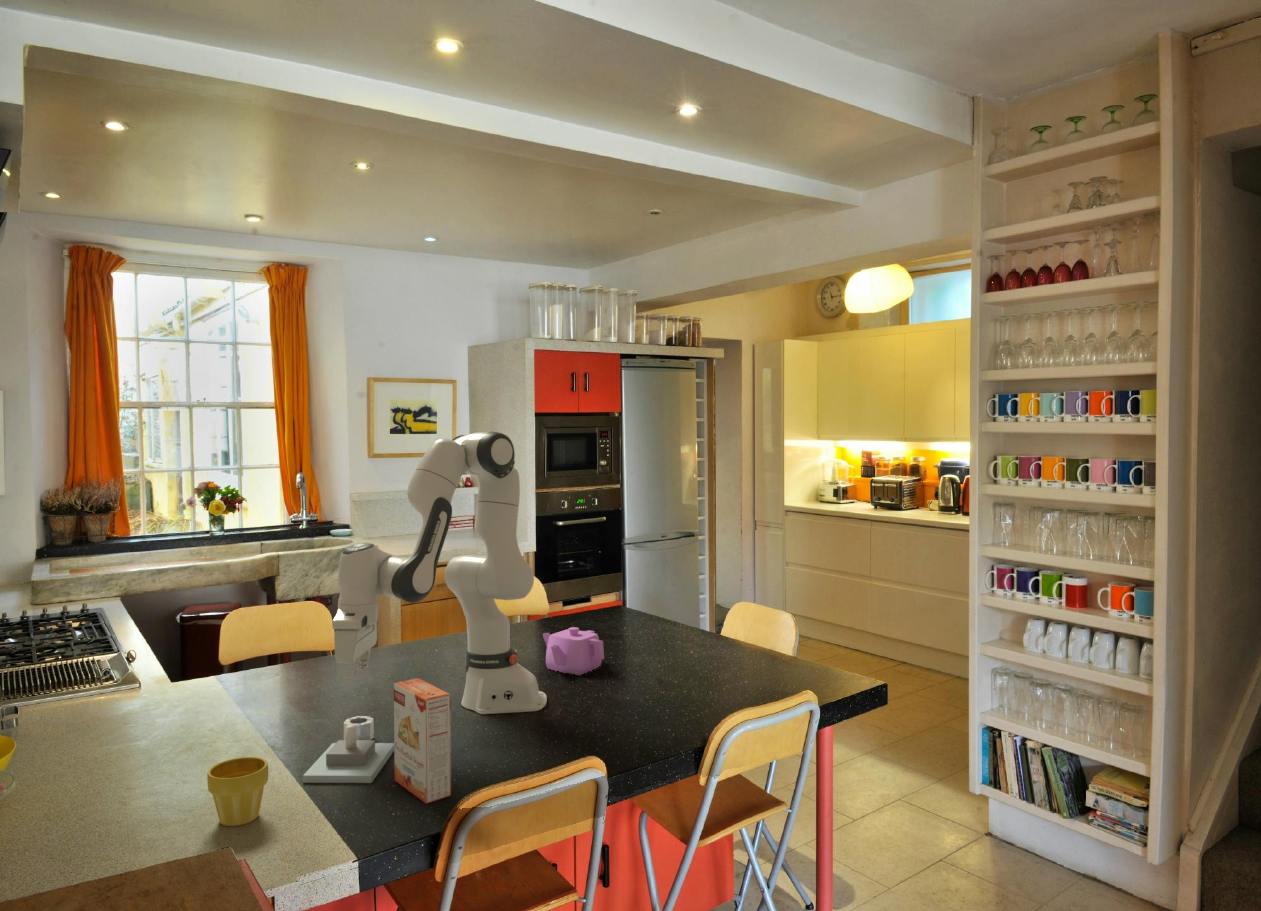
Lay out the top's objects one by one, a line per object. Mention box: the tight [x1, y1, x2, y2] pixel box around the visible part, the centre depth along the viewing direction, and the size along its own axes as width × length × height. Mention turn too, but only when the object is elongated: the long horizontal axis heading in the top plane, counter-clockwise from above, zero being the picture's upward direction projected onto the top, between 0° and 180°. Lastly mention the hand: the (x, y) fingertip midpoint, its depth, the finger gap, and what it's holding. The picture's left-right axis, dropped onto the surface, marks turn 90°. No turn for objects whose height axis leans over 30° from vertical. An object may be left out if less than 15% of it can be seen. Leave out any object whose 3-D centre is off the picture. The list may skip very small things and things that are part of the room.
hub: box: [343, 715, 375, 740], centre depth 199 cm, size 6×6×4 cm
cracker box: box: [393, 677, 452, 804], centre depth 172 cm, size 14×6×21 cm, turn 41°
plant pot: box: [206, 756, 269, 827], centre depth 159 cm, size 10×10×10 cm
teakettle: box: [542, 626, 605, 676], centre depth 259 cm, size 17×17×12 cm
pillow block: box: [302, 725, 394, 784], centre depth 184 cm, size 14×18×8 cm
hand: (357, 673), depth 198 cm, fingers open, 8 cm apart
